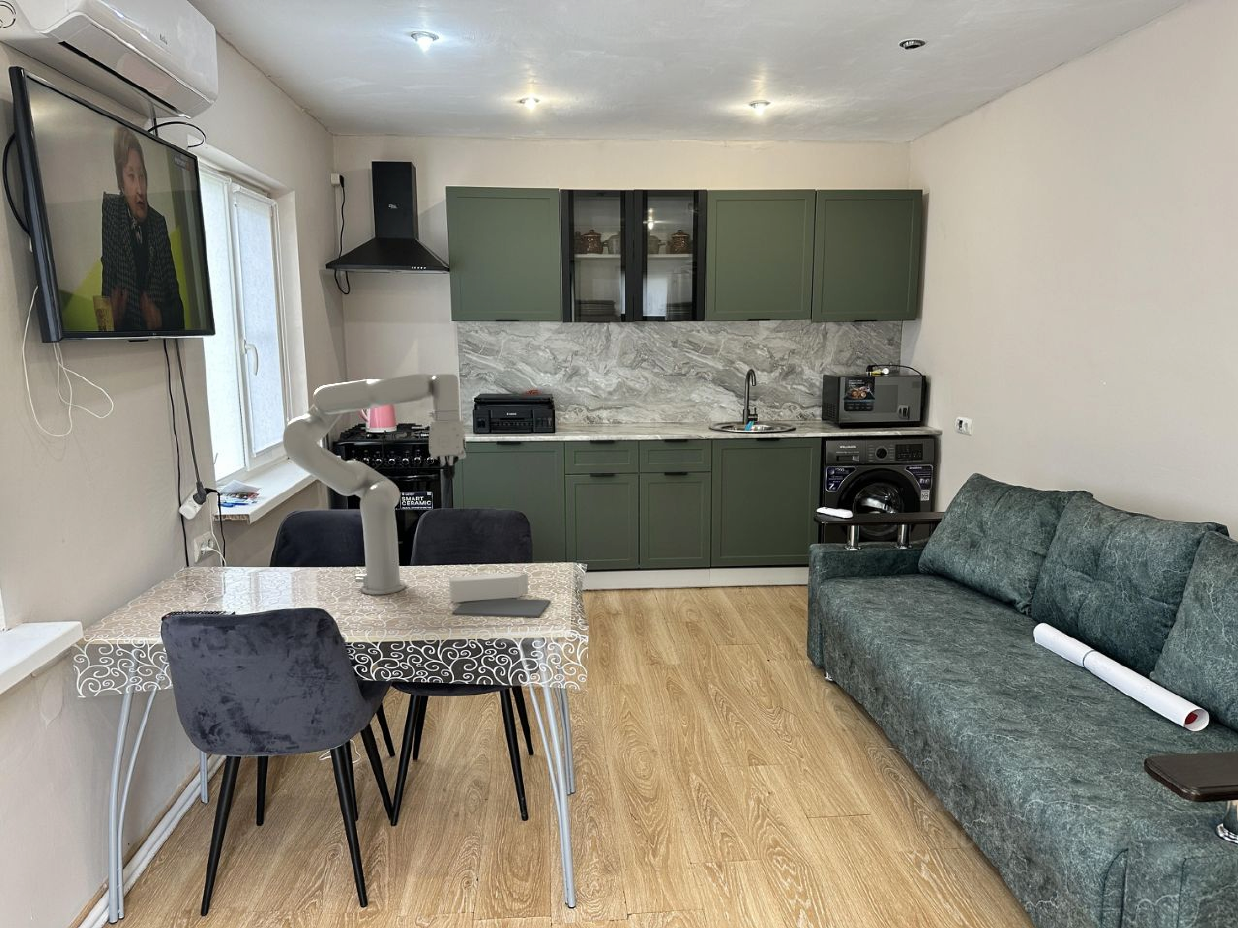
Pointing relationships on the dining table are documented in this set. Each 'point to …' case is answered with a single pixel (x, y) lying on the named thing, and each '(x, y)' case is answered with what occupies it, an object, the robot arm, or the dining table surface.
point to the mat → (503, 608)
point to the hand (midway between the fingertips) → (449, 478)
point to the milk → (488, 587)
